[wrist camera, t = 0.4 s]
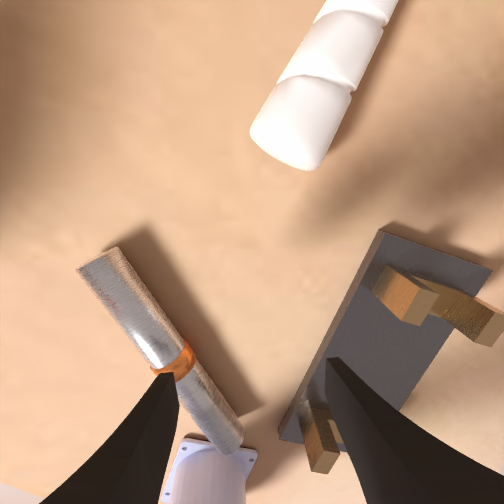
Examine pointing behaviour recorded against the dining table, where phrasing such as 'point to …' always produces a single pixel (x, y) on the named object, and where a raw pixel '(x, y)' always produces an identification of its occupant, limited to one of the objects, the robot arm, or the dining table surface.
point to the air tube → (162, 345)
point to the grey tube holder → (390, 333)
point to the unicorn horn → (320, 82)
